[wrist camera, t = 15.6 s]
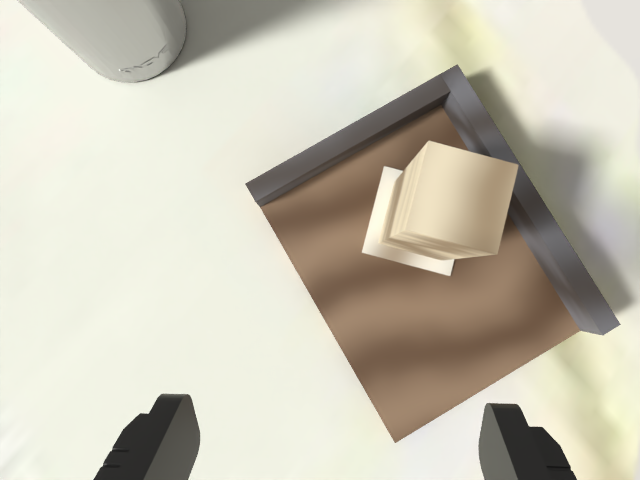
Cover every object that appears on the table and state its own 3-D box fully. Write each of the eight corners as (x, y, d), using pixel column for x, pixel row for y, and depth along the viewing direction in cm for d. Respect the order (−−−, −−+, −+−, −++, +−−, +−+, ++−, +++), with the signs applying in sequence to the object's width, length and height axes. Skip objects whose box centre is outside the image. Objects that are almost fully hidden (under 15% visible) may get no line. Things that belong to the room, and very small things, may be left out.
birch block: (378, 243, 32) (405, 229, 22) (394, 179, 32) (429, 137, 22) (441, 260, 32) (497, 254, 22) (457, 196, 32) (519, 162, 22)
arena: (252, 193, 33) (245, 183, 30) (443, 85, 34) (457, 64, 31) (392, 437, 32) (401, 457, 28) (588, 319, 33) (620, 324, 29)
